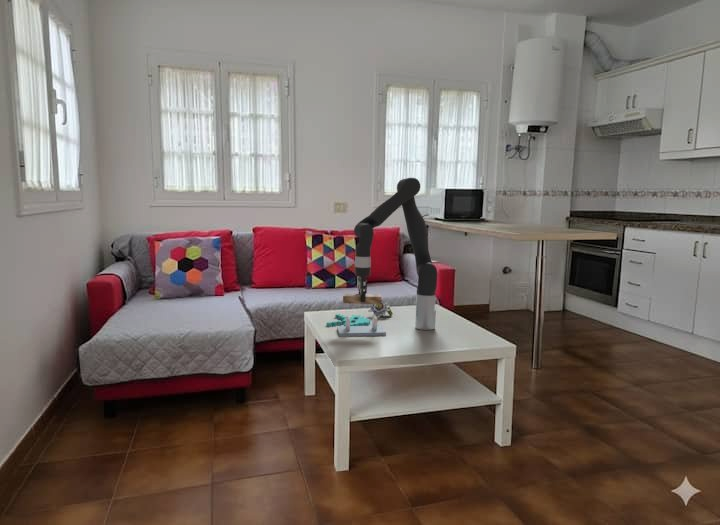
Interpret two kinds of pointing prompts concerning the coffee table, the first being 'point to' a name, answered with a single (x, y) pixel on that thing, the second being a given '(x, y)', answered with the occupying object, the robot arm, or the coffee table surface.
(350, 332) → the peg stand
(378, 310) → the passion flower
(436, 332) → the coffee table surface
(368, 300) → the shelf board
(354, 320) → the alien figure
